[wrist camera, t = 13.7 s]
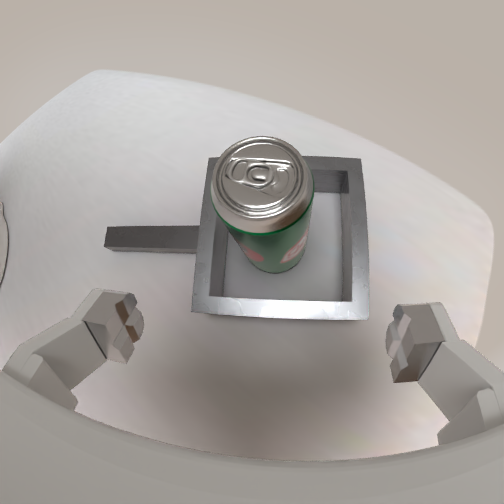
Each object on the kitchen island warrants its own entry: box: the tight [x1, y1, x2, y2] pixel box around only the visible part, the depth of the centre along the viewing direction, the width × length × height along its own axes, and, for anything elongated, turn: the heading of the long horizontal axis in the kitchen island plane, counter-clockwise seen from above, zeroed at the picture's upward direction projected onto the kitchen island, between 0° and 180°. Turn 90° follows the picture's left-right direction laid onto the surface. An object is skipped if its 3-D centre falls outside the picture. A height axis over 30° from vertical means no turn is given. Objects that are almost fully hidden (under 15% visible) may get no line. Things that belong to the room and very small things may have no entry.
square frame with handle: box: [104, 156, 369, 320], centre depth 23 cm, size 23×12×4 cm, turn 87°
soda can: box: [210, 136, 315, 273], centre depth 18 cm, size 5×5×12 cm
